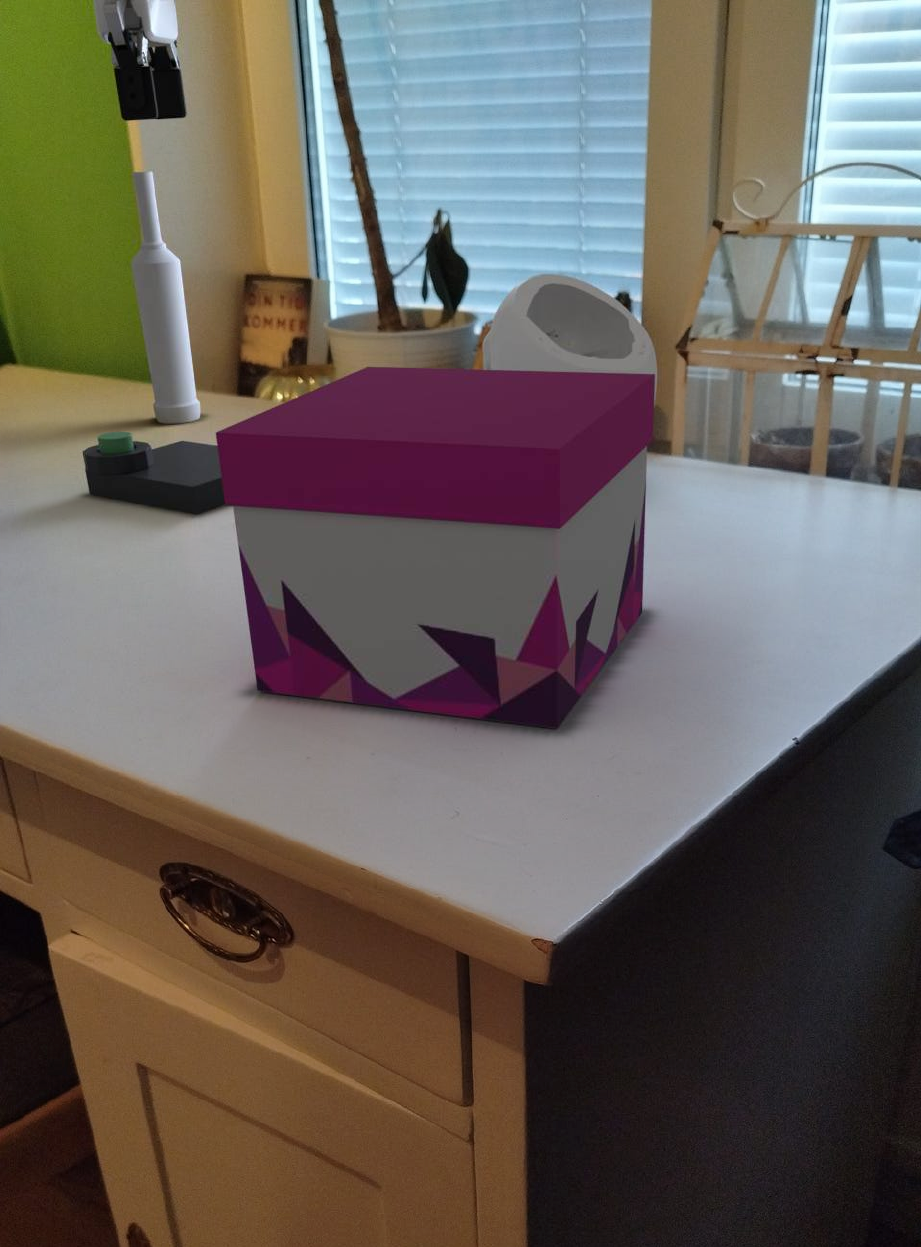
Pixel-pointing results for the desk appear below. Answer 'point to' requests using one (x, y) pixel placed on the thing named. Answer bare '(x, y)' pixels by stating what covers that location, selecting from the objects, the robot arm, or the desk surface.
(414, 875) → the desk surface
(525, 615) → the decorative box
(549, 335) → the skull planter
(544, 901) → the desk surface
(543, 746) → the desk surface
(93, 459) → the black push button box
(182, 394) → the bottle
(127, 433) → the button
